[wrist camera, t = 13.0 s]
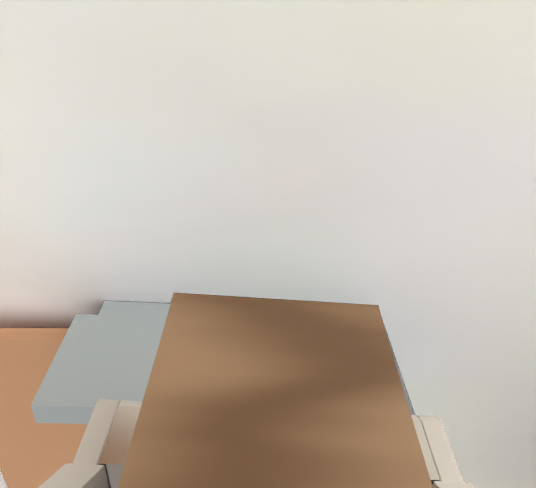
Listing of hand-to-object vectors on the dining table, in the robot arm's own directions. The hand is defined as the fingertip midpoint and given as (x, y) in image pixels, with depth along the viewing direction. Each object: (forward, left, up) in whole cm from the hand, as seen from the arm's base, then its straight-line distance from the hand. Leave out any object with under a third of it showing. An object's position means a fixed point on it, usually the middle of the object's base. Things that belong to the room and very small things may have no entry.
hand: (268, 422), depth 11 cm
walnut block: (0, 0, -2) cm, 2 cm away
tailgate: (+9, +19, -12) cm, 24 cm away
